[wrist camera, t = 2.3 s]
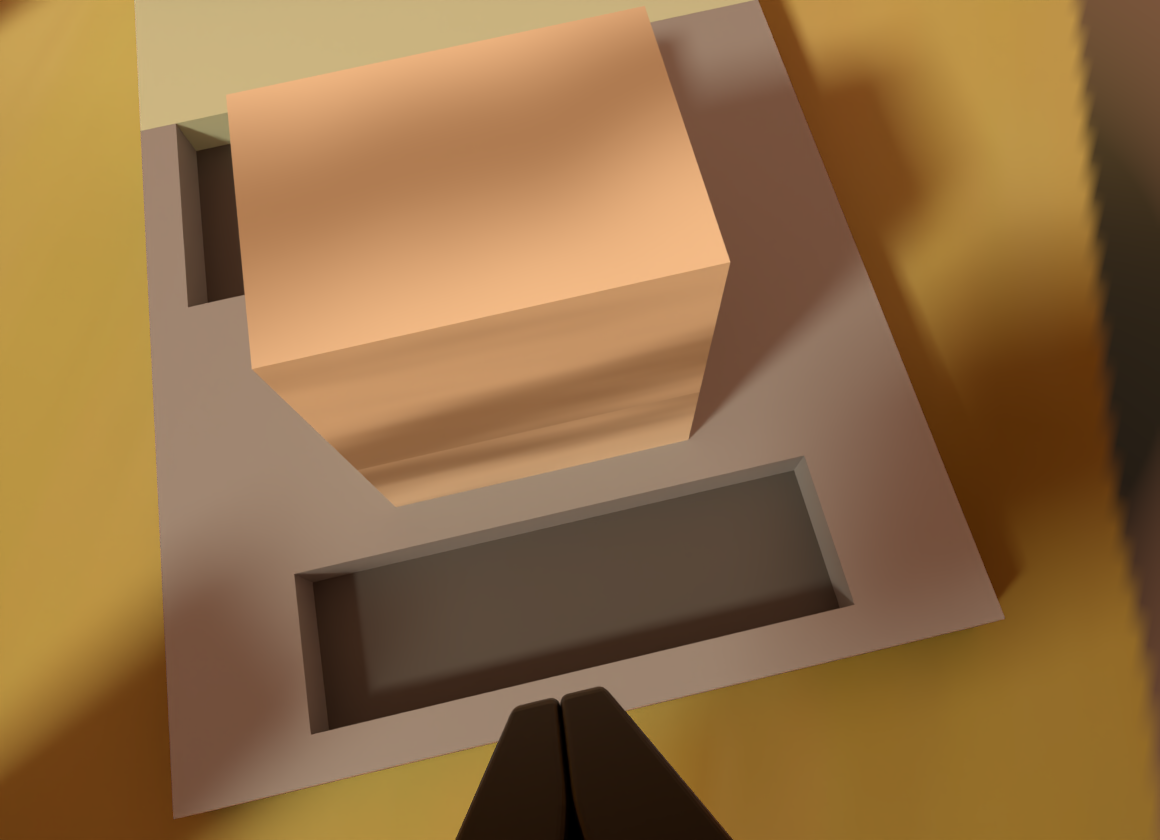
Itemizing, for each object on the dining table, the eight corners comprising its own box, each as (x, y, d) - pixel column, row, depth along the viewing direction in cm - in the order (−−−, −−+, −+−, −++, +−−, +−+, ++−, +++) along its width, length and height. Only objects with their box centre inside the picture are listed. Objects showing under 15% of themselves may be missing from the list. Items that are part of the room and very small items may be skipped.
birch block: (688, 439, 19) (730, 262, 12) (396, 507, 19) (251, 369, 12) (592, 106, 23) (578, -193, 15) (343, 161, 23) (206, -118, 15)
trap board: (977, 626, 19) (1005, 618, 18) (207, 812, 19) (173, 819, 17) (750, 39, 25) (757, -1, 24) (168, 164, 25) (140, 131, 23)
